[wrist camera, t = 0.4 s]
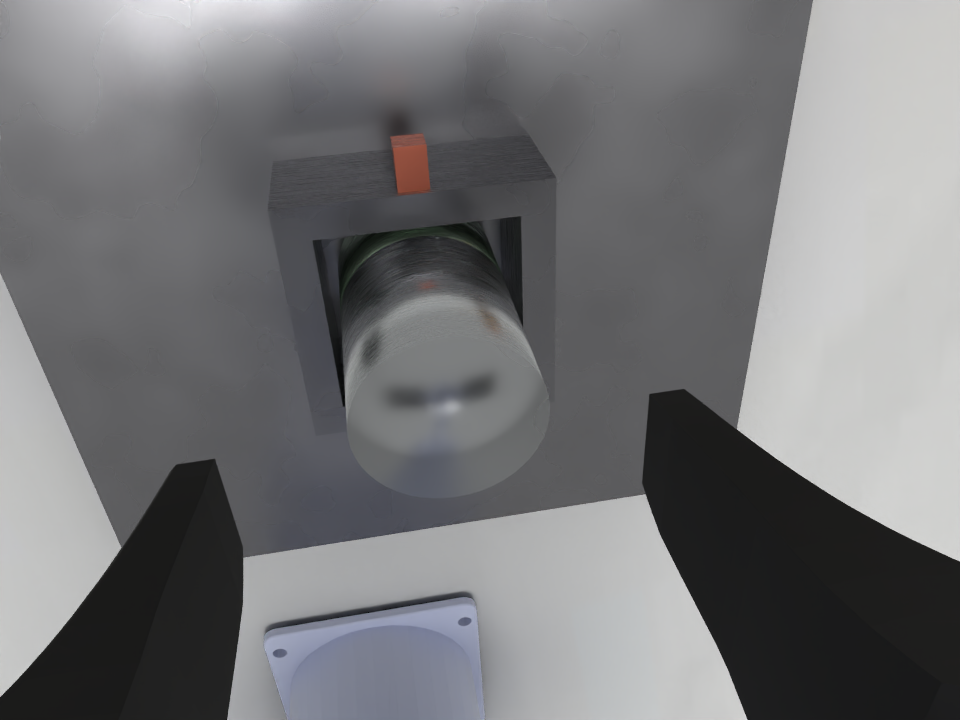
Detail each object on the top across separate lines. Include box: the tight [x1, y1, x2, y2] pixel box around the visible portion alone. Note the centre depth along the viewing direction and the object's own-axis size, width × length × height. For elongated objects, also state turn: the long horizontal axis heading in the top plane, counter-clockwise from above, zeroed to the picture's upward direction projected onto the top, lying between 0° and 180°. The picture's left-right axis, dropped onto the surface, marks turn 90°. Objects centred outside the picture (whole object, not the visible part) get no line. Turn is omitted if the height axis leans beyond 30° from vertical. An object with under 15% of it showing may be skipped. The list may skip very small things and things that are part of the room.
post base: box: [0, 0, 813, 557], centre depth 21 cm, size 20×20×4 cm
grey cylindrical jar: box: [338, 221, 550, 498], centre depth 19 cm, size 4×4×6 cm
